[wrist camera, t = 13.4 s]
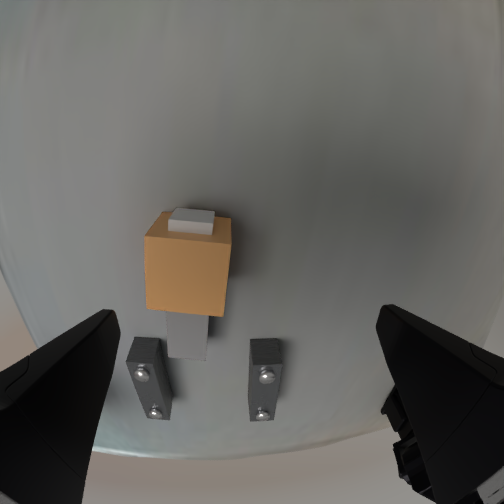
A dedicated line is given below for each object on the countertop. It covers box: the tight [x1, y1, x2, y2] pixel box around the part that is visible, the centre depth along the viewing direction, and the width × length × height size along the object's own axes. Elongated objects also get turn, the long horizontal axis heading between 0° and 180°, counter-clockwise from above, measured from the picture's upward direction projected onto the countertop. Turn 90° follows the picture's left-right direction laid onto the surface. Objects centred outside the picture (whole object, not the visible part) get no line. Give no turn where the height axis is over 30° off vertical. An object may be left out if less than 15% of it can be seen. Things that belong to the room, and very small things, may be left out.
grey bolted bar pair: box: [126, 337, 282, 421], centre depth 23 cm, size 12×8×3 cm
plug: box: [145, 208, 232, 361], centre depth 18 cm, size 11×4×4 cm, turn 172°
